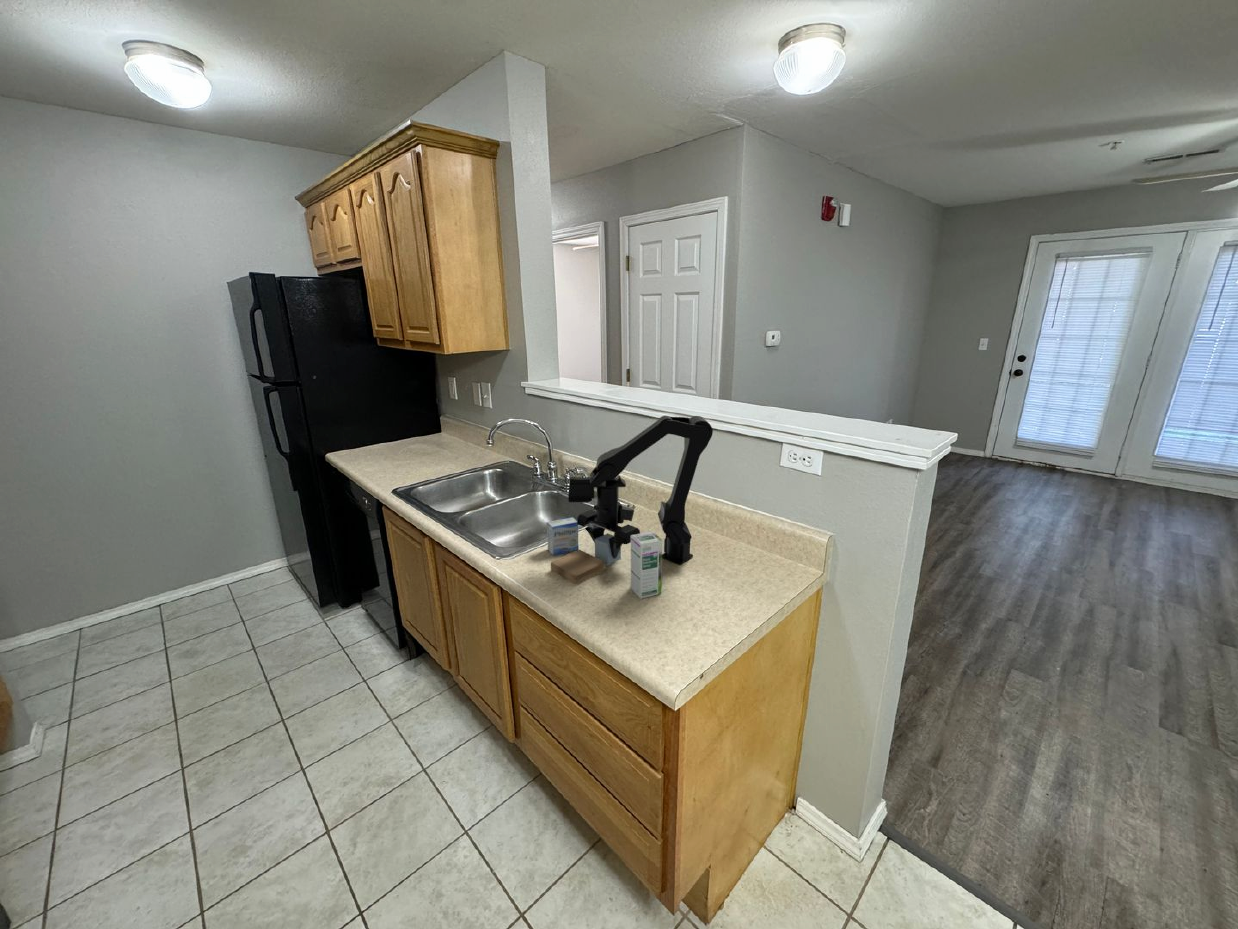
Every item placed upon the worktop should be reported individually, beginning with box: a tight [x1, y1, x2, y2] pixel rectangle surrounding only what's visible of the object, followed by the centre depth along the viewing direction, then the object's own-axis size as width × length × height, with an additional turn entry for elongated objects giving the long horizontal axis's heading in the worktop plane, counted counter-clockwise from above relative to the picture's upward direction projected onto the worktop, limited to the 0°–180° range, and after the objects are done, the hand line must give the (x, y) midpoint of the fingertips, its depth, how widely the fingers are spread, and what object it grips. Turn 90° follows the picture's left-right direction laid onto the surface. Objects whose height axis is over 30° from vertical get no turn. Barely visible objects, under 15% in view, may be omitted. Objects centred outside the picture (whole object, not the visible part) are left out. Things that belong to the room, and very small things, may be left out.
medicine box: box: [546, 516, 580, 556], centre depth 141 cm, size 8×4×9 cm, turn 117°
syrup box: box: [630, 530, 663, 600], centre depth 120 cm, size 6×6×14 cm
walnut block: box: [550, 549, 606, 586], centre depth 131 cm, size 10×10×3 cm
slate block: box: [594, 533, 622, 566], centre depth 137 cm, size 5×5×6 cm
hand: (607, 554), depth 137 cm, fingers closed on slate block, 5 cm apart
